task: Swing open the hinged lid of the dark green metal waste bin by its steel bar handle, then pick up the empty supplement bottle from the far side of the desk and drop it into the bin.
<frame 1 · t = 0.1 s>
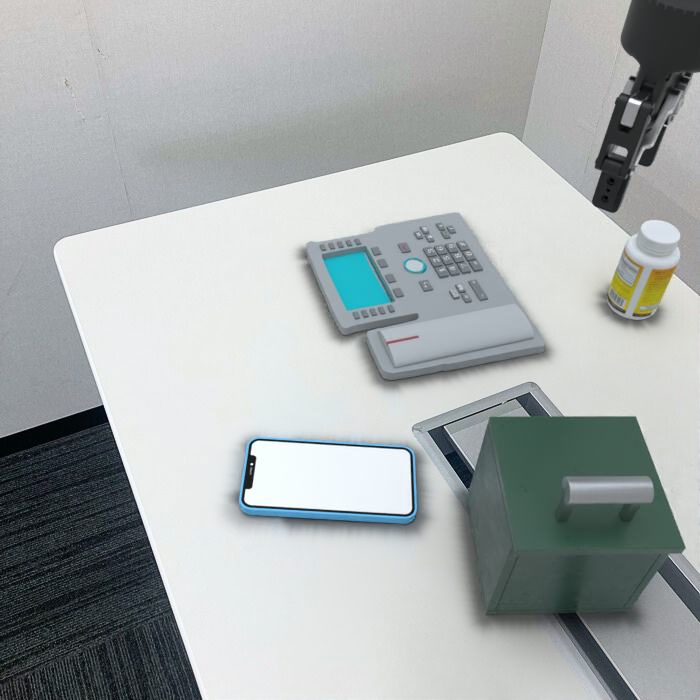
hand: (622, 184, 64), 20 cm above the table, tool pointing down, fingers open, 8 cm apart
smartphone: (329, 484, 66), on the table
office telephone: (416, 297, 84), on the table
bin lid: (587, 463, 52), point 13 cm above the table, hinge at 0.0°
supplement bottle: (629, 306, 84), on the table
waste bin: (543, 552, 62), on the table
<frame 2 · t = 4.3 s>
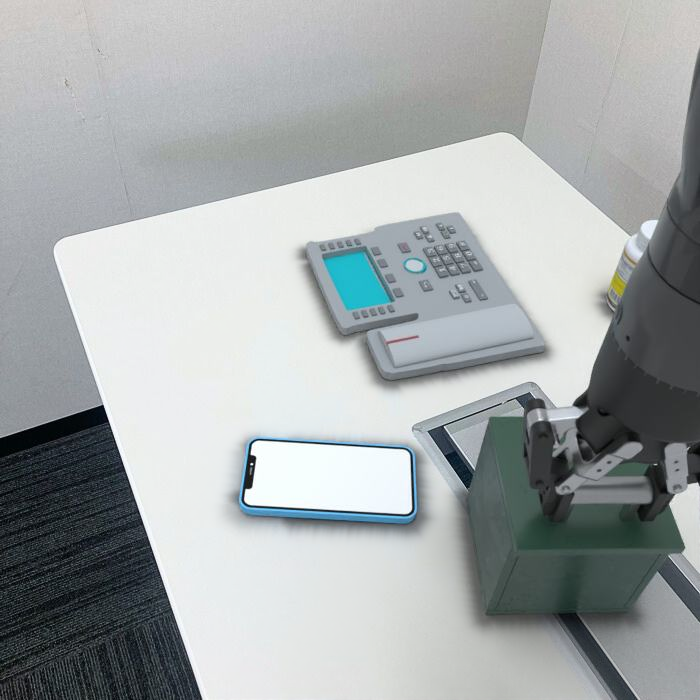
hand: (597, 509, 51), 12 cm above the table, tool pointing down, fingers closed on bin lid, 5 cm apart
bin lid: (587, 464, 52), point 13 cm above the table, hinge at -0.1°, touching gripper
everything else where it was.
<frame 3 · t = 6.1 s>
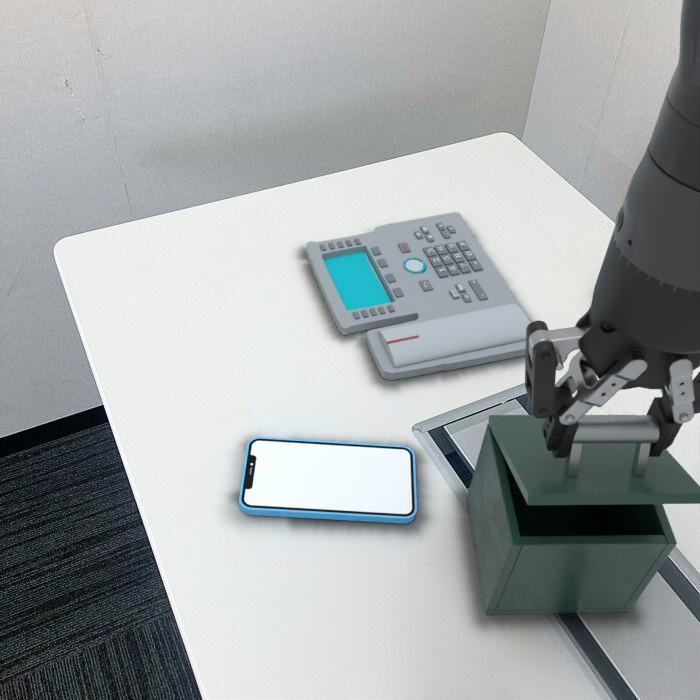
hand: (602, 446, 50), 16 cm above the table, tool pointing down, fingers closed on bin lid, 5 cm apart
bin lid: (591, 428, 52), point 15 cm above the table, hinge at 25.1°, touching gripper
everything else where it was.
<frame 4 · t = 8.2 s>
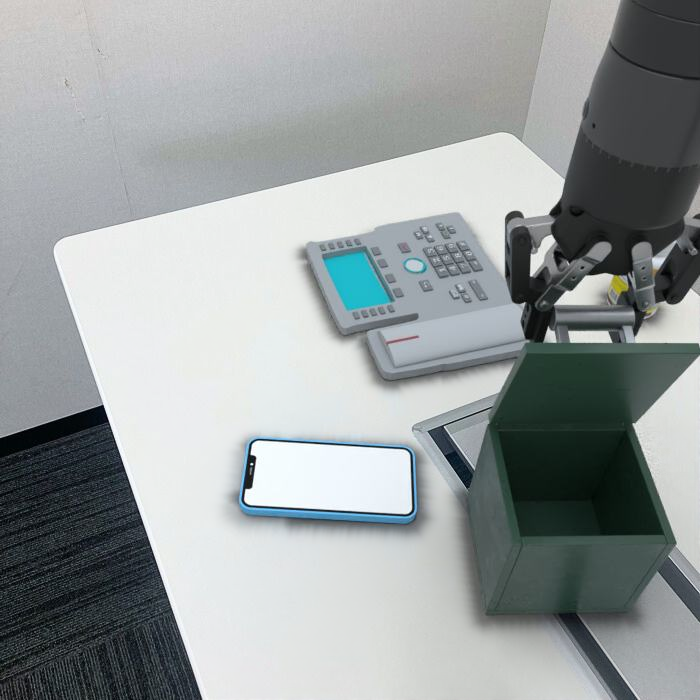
hand: (575, 338, 55), 17 cm above the table, tool pointing down, fingers closed on bin lid, 5 cm apart
bin lid: (580, 360, 54), point 17 cm above the table, hinge at 75.5°, touching gripper
everything else where it was.
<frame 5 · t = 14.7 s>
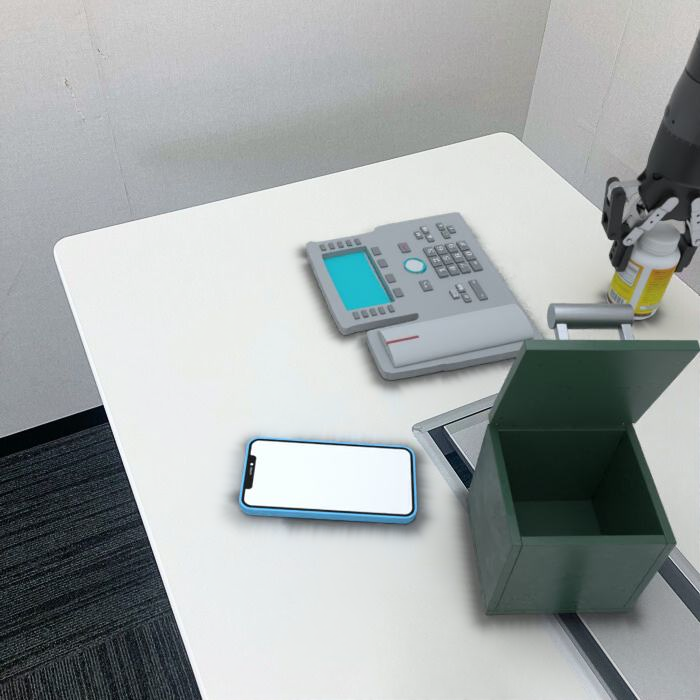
hand: (646, 266, 80), 6 cm above the table, tool pointing down, fingers closed on supplement bottle, 5 cm apart
bin lid: (579, 359, 54), point 17 cm above the table, hinge at 76.7°
supplement bottle: (629, 306, 84), on the table, touching gripper
everything else where it was.
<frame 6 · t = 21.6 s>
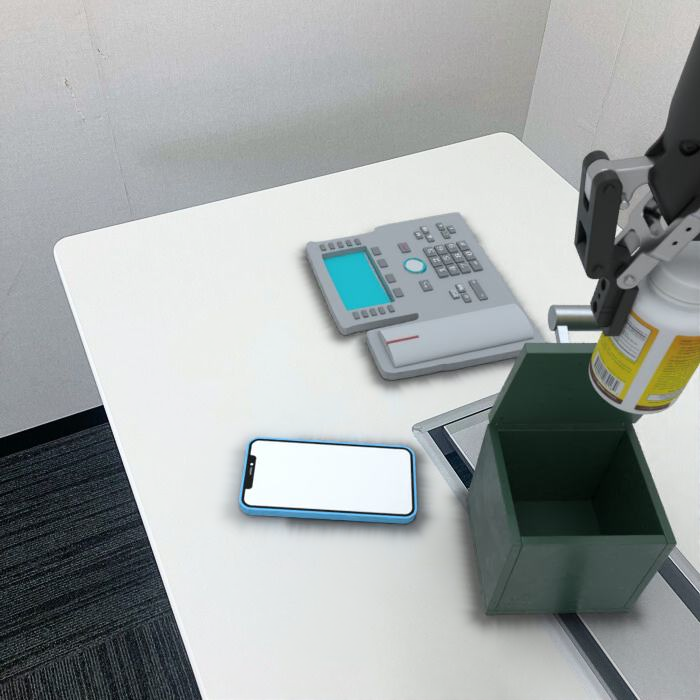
hand: (661, 325, 42), 27 cm above the table, tool pointing down, fingers closed on supplement bottle, 5 cm apart
bin lid: (580, 360, 54), point 17 cm above the table, hinge at 75.4°, touching supplement bottle
supplement bottle: (629, 383, 46), point 22 cm above the table, touching bin lid, gripper
everything else where it was.
when the fingers open (18 cm above the table, at t = 23.9 s): supplement bottle drops 6 cm, resting on waste bin.
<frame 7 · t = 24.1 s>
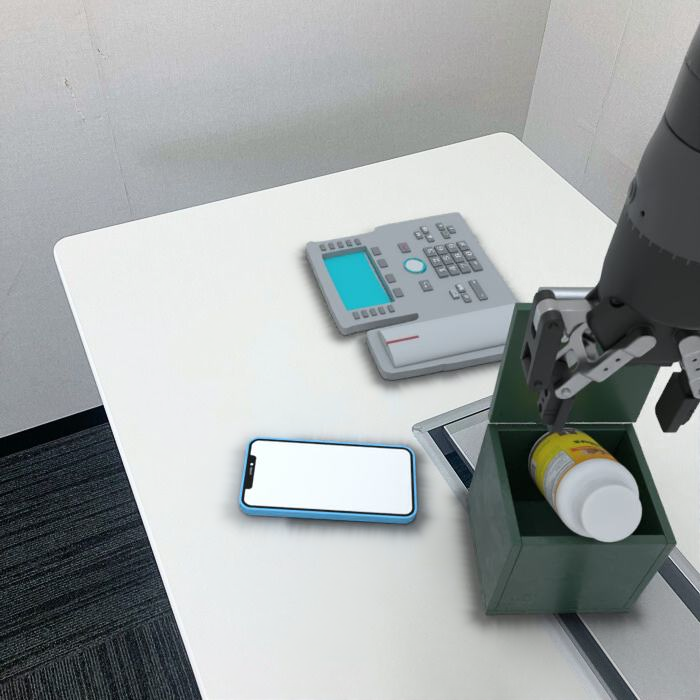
hand: (608, 422, 49), 18 cm above the table, tool pointing down, fingers open, 7 cm apart
bin lid: (572, 347, 56), point 17 cm above the table, hinge at 93.5°
supplement bottle: (560, 458, 58), point 9 cm above the table, touching waste bin
everything else where it was.
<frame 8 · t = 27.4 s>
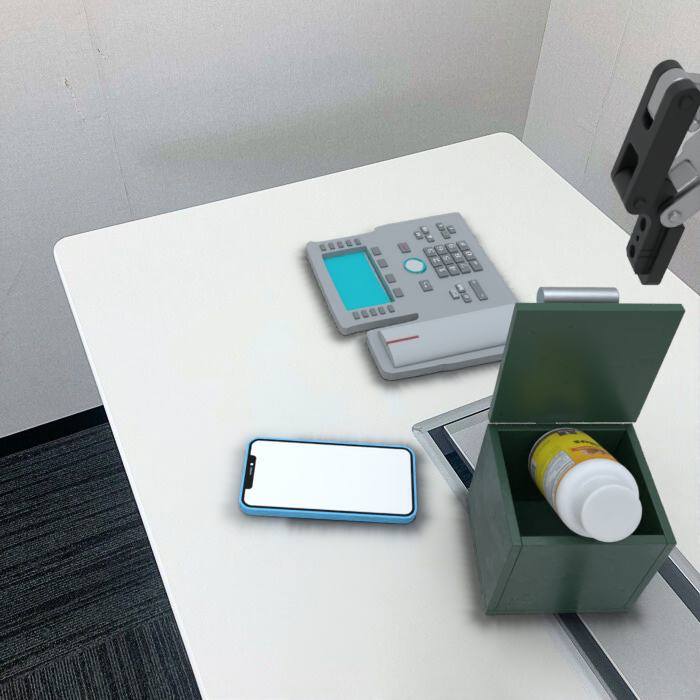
nothing on the table moved.
at the end: bin lid at +94° (first picture: +0°); supplement bottle inside the target area in the waste bin (3.3 cm from its centre), point 8.7 cm above the waste bin's base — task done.
